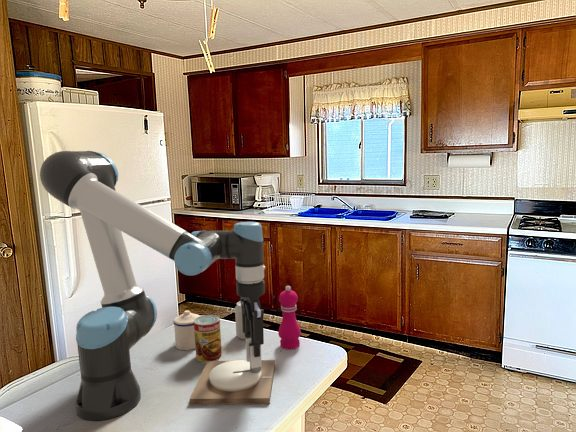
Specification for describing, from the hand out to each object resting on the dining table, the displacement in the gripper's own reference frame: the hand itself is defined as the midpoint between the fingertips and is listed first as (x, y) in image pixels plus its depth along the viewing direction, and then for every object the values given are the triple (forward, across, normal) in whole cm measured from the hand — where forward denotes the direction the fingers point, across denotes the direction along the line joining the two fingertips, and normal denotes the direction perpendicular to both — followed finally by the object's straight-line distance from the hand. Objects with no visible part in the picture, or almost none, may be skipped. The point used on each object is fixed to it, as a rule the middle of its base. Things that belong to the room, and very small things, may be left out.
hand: (253, 363), depth 116 cm
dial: (+4, +1, +5) cm, 6 cm away
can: (+5, +30, -7) cm, 31 cm away
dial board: (+5, +1, +5) cm, 7 cm away
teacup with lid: (+5, +33, +12) cm, 36 cm away
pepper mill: (+5, +16, -17) cm, 24 cm away
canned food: (+5, +20, +8) cm, 22 cm away
